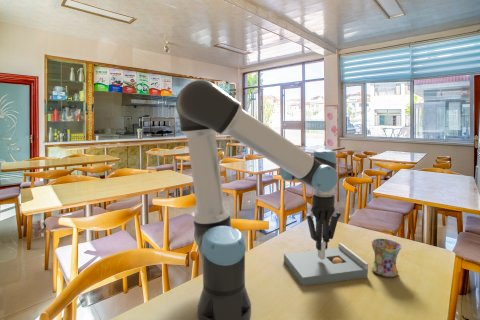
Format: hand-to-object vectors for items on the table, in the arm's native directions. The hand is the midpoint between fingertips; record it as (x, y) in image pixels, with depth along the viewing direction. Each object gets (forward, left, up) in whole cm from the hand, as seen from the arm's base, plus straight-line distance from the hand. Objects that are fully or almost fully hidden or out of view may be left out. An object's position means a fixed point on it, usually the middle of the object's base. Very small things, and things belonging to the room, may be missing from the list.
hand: (321, 257), depth 105 cm
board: (+1, 0, -4) cm, 5 cm away
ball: (+5, 0, -4) cm, 6 cm away
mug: (+21, -6, -5) cm, 22 cm away
